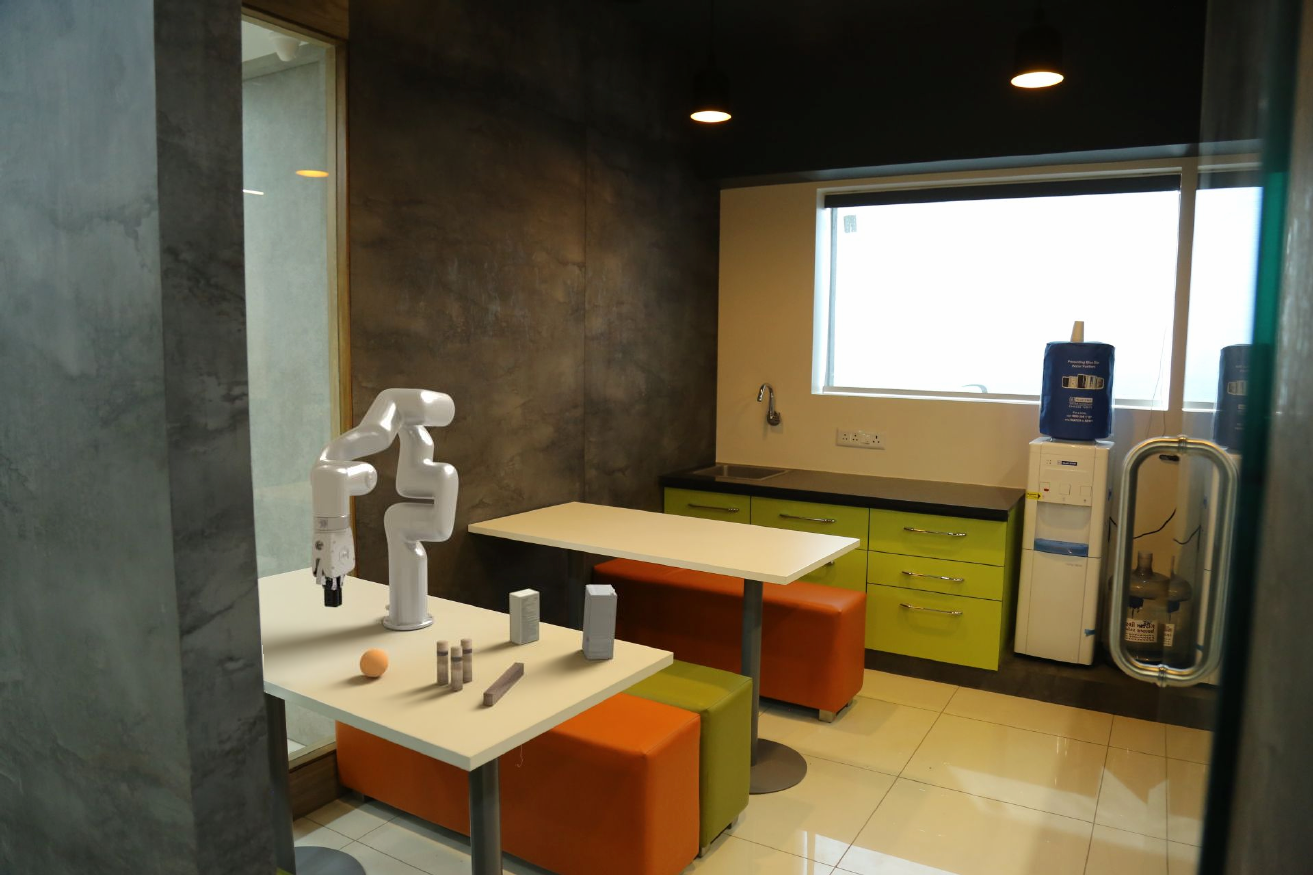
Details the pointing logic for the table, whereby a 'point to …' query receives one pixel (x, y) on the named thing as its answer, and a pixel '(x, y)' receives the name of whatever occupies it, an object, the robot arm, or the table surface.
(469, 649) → the back pin left
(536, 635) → the skincare box
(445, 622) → the table surface
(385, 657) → the ball
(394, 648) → the table surface
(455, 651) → the back pin right
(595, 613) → the skincare box
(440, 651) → the front pin
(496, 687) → the back wall
